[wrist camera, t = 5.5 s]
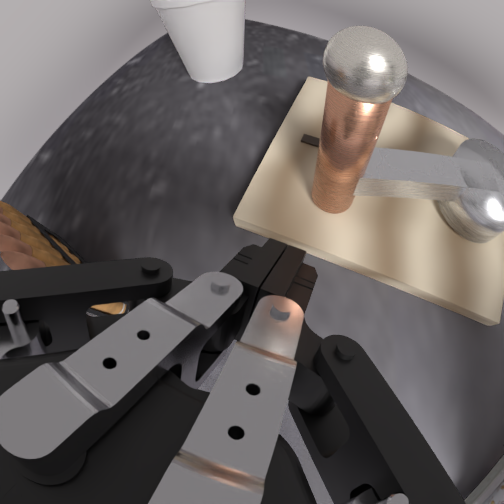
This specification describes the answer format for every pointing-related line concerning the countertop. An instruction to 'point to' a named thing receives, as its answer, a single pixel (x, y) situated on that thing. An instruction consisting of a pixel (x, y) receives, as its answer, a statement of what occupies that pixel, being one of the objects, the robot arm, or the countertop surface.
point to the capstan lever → (393, 160)
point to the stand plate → (374, 215)
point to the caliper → (487, 484)
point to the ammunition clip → (40, 250)
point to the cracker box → (496, 495)
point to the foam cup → (206, 35)
